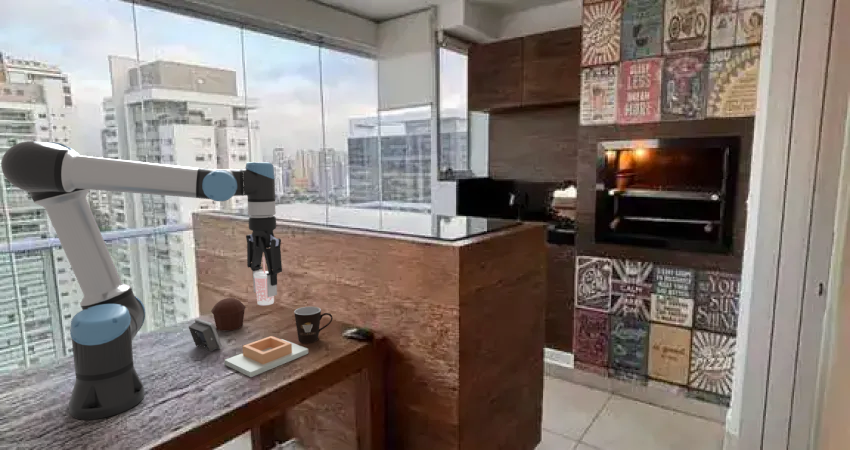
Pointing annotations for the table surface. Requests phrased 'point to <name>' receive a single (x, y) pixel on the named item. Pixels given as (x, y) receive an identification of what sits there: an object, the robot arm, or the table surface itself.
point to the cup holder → (265, 355)
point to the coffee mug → (309, 323)
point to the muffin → (228, 314)
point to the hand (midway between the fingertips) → (265, 293)
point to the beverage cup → (262, 287)
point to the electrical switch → (205, 335)
